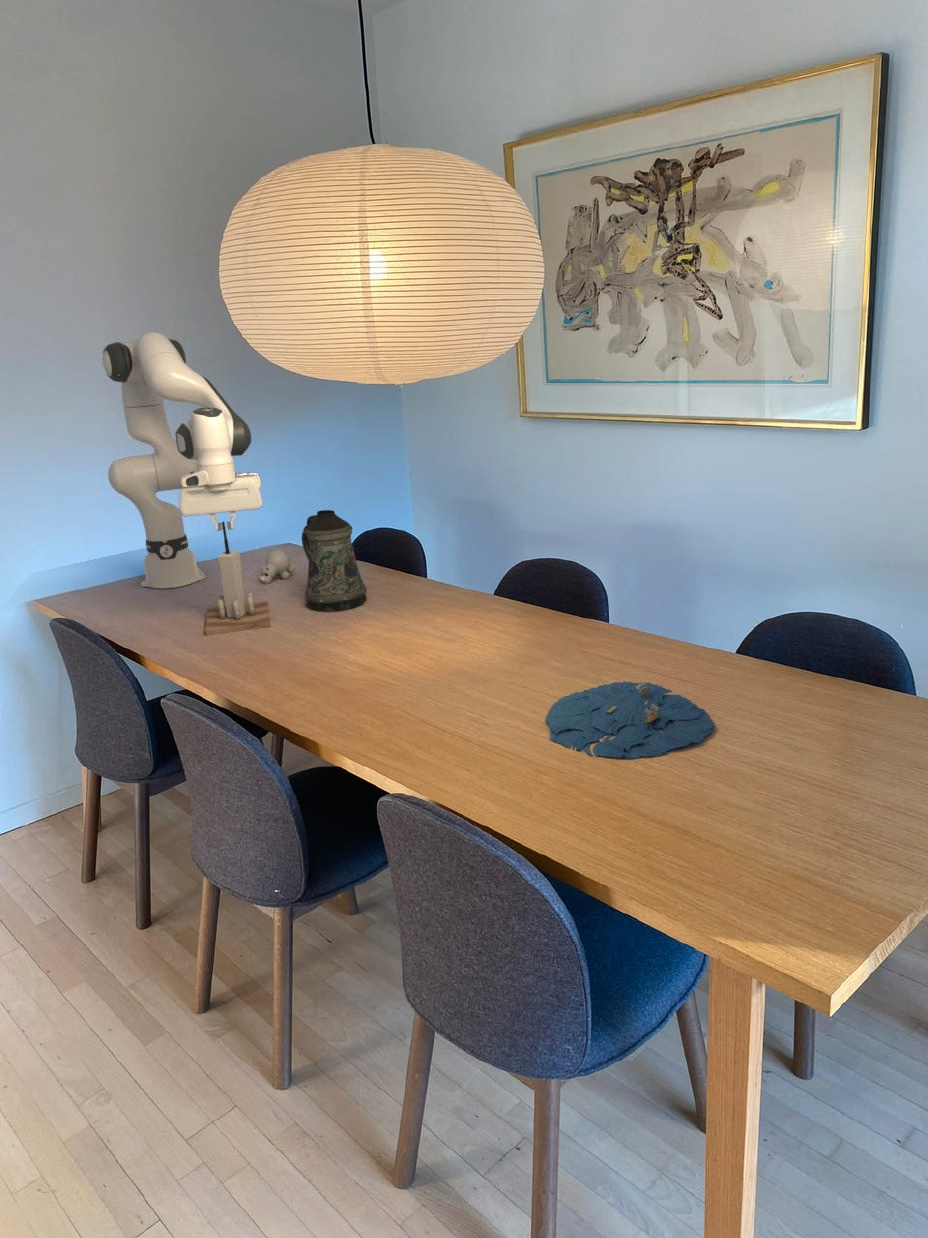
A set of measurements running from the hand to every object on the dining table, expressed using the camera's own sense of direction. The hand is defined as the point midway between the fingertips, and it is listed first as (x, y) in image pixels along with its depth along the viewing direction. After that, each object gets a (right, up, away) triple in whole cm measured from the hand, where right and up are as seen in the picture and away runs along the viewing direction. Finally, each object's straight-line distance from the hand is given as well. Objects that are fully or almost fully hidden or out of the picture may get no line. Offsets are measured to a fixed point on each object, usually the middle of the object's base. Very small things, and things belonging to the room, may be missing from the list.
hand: (225, 529), depth 225 cm
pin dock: (+1, -23, +7) cm, 24 cm away
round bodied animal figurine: (+4, -11, +43) cm, 44 cm away
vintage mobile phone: (+2, -22, +7) cm, 23 cm away
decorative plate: (+90, -42, -65) cm, 119 cm away
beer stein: (+25, -18, +17) cm, 35 cm away
